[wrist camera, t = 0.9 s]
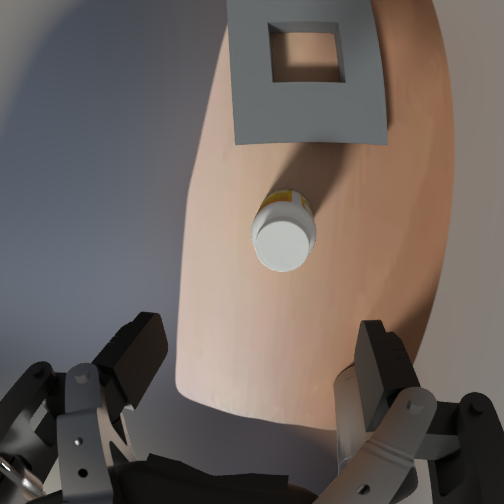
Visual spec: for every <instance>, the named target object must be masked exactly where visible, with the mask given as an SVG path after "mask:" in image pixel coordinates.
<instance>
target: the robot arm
mask: <svg viewBox="0 0 504 504" xmlns="http://www.w3.org/2000/svg"><path fill="white" fill-rule="evenodd" d="M167 352H168V342H167V338H166V334H165V331H164V327H163V323H162V319H161V316H160V315H159V314H158V313H151V312H140V313H139V314H138V316H137V317H136V318H135V319H134V320H133V321H132V322H129V323H128V324H126V325H124V326H123V327H121V328H120V330H119V331H118V332H117V333H116V334H115V337H113V338H112V339H111V340H110V342H109V343H107V345H106V346H105V347H104V348H103V350H102V351H101V352H100V353H99V354H98V355H97V357H96V358H95V359H94V360H93V361H92V363H80V364H78V365H76V366H73V367H72V368H71V369H70V370H69V371H68V372H67V373H56V372H54V370H53V368H52V366H51V365H50V364H49V363H48V362H44V361H41V362H37V363H35V364H33V365H31V366H30V367H29V368H28V369H27V370H26V371H25V373H24V374H23V375H22V376H21V377H20V378H19V380H18V381H17V382H16V383H15V384H14V386H13V387H12V388H11V389H10V390H9V391H8V393H7V394H6V395H5V396H4V398H3V399H2V400H1V401H0V504H396V503H398V502H399V501H401V500H403V499H405V498H406V497H408V496H409V495H411V494H412V493H413V492H414V491H415V490H416V488H417V486H418V477H417V472H416V467H415V462H414V459H426V460H427V461H428V468H429V474H430V482H431V489H432V499H433V504H504V431H503V428H502V426H501V423H500V421H499V418H498V415H497V413H496V411H495V408H494V406H493V404H492V402H491V400H490V399H489V398H488V397H487V396H486V395H484V394H481V393H477V392H472V393H468V394H466V395H465V396H464V397H463V398H462V399H461V401H460V403H450V402H440V401H436V398H435V397H434V395H433V394H432V393H431V392H429V391H428V390H427V389H424V388H421V386H420V383H419V381H418V378H417V376H416V373H415V371H414V368H413V366H412V363H411V361H410V359H409V356H408V354H407V351H406V349H405V347H404V344H403V342H402V340H401V339H400V338H399V337H398V336H397V335H396V334H395V333H394V332H386V331H385V328H384V326H383V323H382V321H381V320H363V321H361V323H360V328H359V333H358V338H357V343H356V348H355V354H354V366H351V367H349V368H348V369H346V370H344V371H343V372H342V373H341V374H340V375H339V376H338V377H337V378H336V380H335V382H334V397H335V412H336V427H337V444H338V468H339V475H338V476H337V478H336V479H335V480H334V481H333V482H332V483H331V484H330V486H329V487H328V488H327V489H326V490H325V491H324V492H323V493H322V494H321V495H320V496H318V495H316V494H315V493H313V492H311V491H309V490H307V489H305V488H303V487H299V486H297V485H293V484H290V483H288V477H289V476H288V475H268V474H255V473H249V474H239V475H223V476H213V475H209V474H207V473H204V472H202V471H200V470H197V469H195V468H193V467H191V466H189V465H187V464H185V463H182V462H181V461H177V460H172V459H169V458H165V457H161V456H158V455H154V454H151V453H150V454H149V456H148V458H147V460H146V461H137V459H136V457H135V455H134V453H133V451H132V448H131V444H130V440H129V437H128V433H127V429H126V425H125V421H124V417H123V415H122V413H121V412H122V410H123V408H127V409H130V410H134V411H135V409H136V407H137V406H138V404H139V402H140V400H141V399H142V397H143V395H144V393H145V392H146V390H147V388H148V386H149V385H150V383H151V381H152V380H153V377H154V376H155V374H156V373H157V371H158V369H159V367H160V366H161V364H162V362H163V361H164V359H165V357H166V355H167ZM41 404H42V405H43V406H44V407H45V409H46V410H47V411H48V412H47V414H46V415H45V416H44V418H43V419H42V421H41V422H40V424H39V425H38V427H37V428H36V430H35V431H34V432H33V430H32V429H31V427H30V420H31V418H32V416H33V414H34V413H35V412H36V410H37V409H38V408H39V406H40V405H41ZM57 458H59V469H60V476H61V477H60V478H61V485H62V490H59V491H57V492H54V493H51V494H48V495H46V493H45V492H44V491H43V487H42V485H43V484H44V482H45V480H46V478H47V476H48V474H49V472H50V470H51V468H52V467H53V465H54V463H55V461H56V459H57Z"/></svg>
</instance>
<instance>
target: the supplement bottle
mask: <svg viewBox="0 0 504 504" xmlns="http://www.w3.org/2000/svg"><path fill="white" fill-rule="evenodd" d="M251 238H252V242H253V245H254V247H255V251H256V254H257V256H258V258H259V260H260V261H261V262H262V263H263V264H264V265H265V266H266V267H268V268H270V269H272V270H275V271H280V272H286V271H291V270H294V269H296V268H298V267H299V266H300V265H302V264H303V263H304V261H305V260H306V258H307V257H308V255H309V253H310V252H311V251H312V249H313V247H314V244H315V241H316V226H315V222H314V218H313V214H312V211H311V207H310V205H309V203H308V201H307V200H306V199H305V197H304V196H302V195H301V194H300V193H298V192H296V191H293V190H289V189H282V190H277V191H275V192H273V193H271V194H270V195H268V196H267V197H266V198H265V200H264V201H263V203H262V204H261V206H260V208H259V210H258V212H257V214H256V216H255V218H254V221H253V224H252V228H251Z"/></svg>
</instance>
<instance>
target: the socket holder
mask: <svg viewBox="0 0 504 504" xmlns="http://www.w3.org/2000/svg"><path fill="white" fill-rule="evenodd" d="M227 16H228V35H229V52H230V69H231V86H232V102H233V117H234V132H235V145H245V144H262V143H292V142H329V143H358V144H375V145H388V142H387V116H386V101H385V89H384V79H383V70H382V62H381V55H380V49H379V42H378V36H377V31H376V26H375V21H374V16H373V11H372V7H371V3H370V0H227ZM291 32H315V33H334V35H335V42H336V50H337V58H338V67H339V76H340V83H337V82H276V83H274V73H273V61H272V49H271V38H270V33H291Z"/></svg>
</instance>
